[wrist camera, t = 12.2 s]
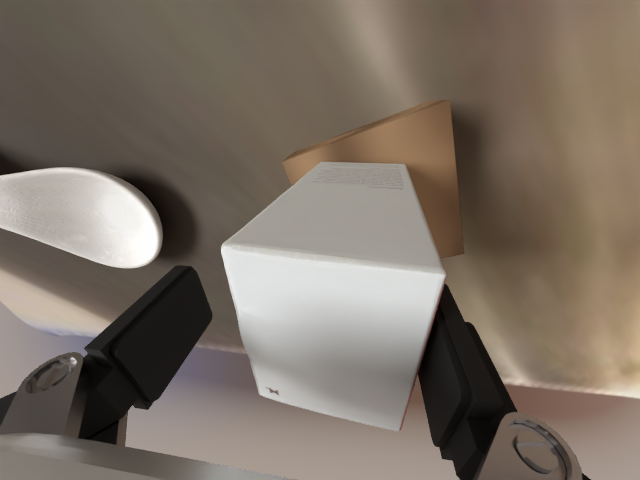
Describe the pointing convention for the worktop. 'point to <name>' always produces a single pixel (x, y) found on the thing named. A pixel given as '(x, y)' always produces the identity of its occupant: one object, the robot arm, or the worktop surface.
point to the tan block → (403, 148)
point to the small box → (338, 292)
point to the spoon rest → (82, 214)
